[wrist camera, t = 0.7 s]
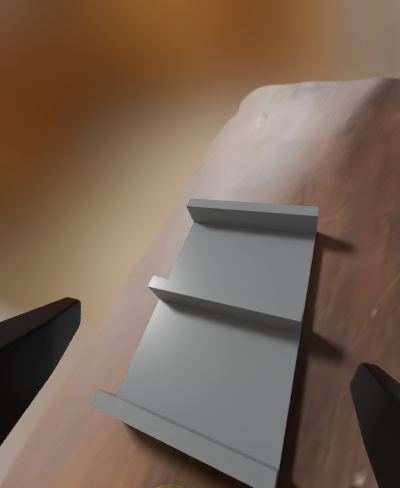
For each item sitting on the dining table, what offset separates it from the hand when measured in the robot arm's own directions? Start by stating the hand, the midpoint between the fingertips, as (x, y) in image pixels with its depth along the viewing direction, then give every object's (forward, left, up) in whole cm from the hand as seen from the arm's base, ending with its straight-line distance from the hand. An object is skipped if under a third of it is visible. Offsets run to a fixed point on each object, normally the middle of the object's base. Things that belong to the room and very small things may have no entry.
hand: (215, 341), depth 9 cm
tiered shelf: (+5, +4, -13) cm, 15 cm away
